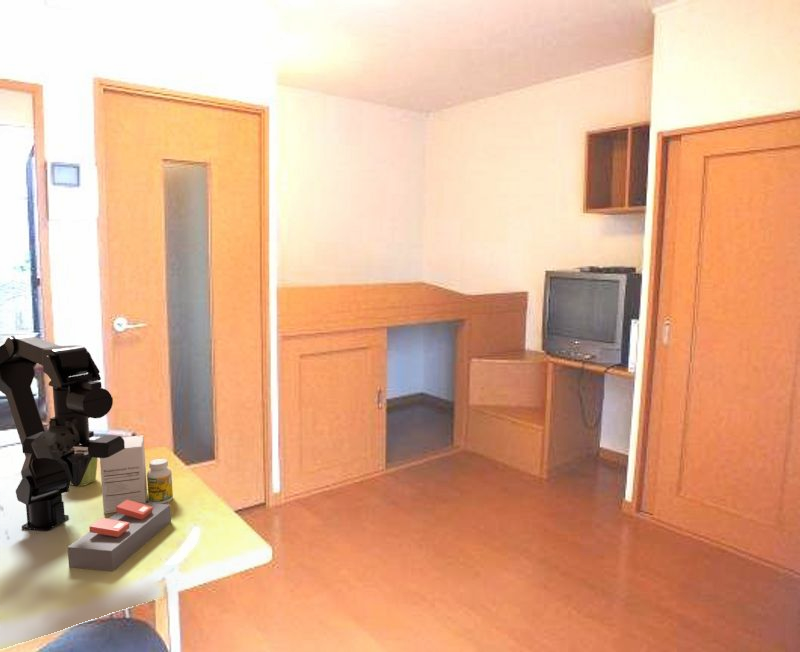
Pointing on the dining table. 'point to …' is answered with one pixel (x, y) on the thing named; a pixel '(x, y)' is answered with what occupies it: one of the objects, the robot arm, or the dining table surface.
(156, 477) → the supplement bottle
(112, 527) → the block
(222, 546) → the dining table surface
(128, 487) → the supplement box
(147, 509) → the rocker back
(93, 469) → the plant pot
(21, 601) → the dining table surface
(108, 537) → the long grey block
